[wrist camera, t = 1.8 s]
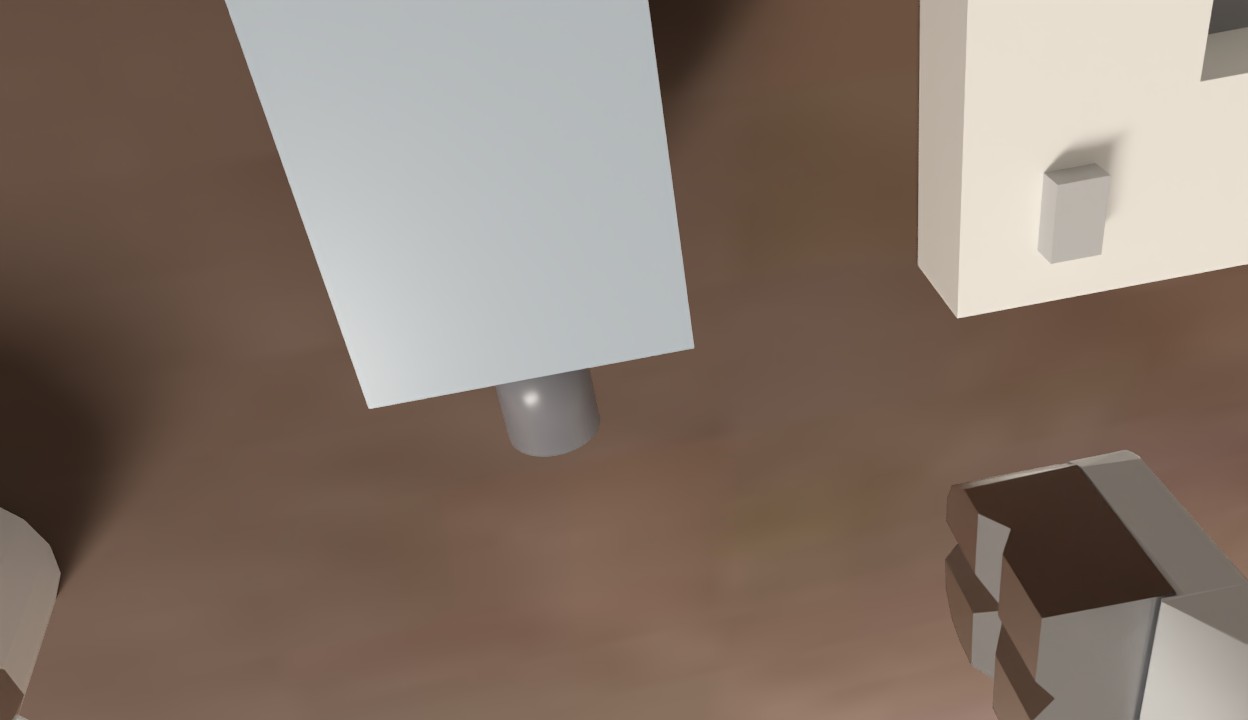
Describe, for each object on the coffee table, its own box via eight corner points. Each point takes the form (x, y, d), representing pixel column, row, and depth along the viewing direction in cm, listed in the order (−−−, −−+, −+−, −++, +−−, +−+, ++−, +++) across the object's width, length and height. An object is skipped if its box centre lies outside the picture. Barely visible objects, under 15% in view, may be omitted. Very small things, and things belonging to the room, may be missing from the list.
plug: (294, -134, 21) (208, -49, 15) (584, -187, 21) (631, -126, 15) (429, 323, 27) (411, 530, 21) (655, 280, 27) (711, 473, 21)
